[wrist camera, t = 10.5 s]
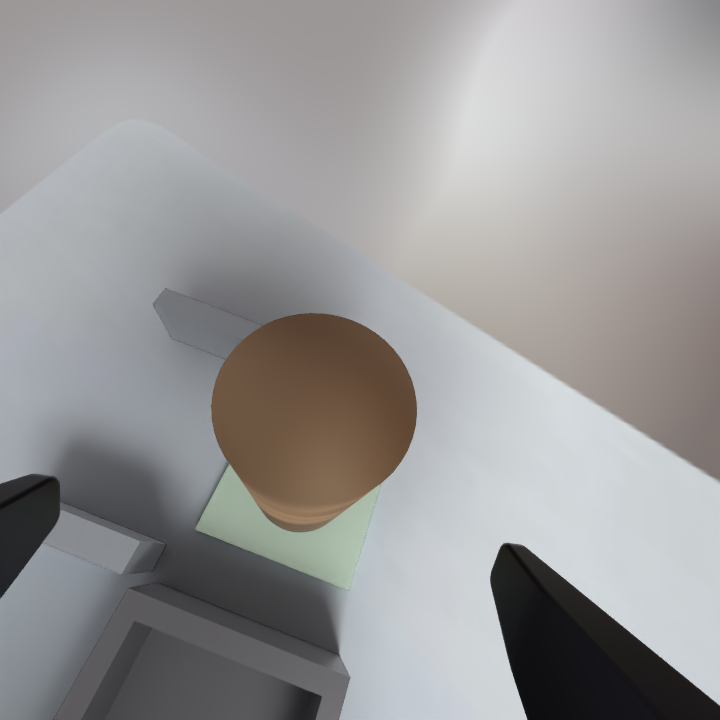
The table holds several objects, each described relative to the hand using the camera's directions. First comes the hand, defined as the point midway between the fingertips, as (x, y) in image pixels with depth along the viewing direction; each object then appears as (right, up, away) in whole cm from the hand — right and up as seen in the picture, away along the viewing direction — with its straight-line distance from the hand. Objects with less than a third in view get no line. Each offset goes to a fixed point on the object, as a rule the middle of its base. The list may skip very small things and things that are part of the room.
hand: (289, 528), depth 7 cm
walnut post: (-2, -3, +12) cm, 13 cm away
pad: (-2, -3, +13) cm, 13 cm away
